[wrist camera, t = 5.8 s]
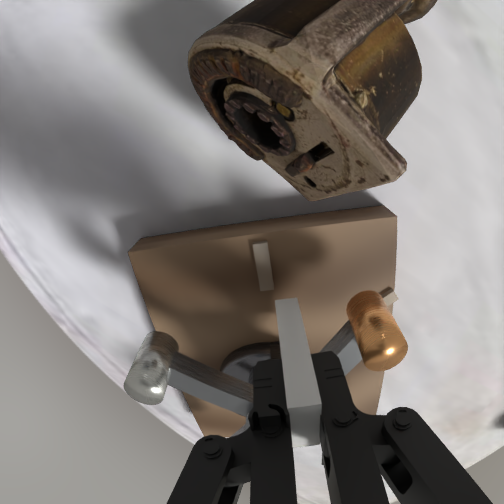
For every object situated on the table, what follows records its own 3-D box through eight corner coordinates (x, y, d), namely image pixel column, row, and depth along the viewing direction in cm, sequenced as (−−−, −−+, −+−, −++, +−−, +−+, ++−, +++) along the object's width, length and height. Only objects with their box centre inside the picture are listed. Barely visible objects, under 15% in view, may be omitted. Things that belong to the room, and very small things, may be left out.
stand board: (140, 238, 18) (125, 254, 16) (387, 205, 16) (402, 218, 14) (207, 419, 24) (204, 440, 22) (371, 402, 23) (377, 422, 21)
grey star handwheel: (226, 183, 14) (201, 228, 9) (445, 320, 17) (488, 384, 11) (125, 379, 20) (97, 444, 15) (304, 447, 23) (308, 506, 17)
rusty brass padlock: (193, 131, 15) (95, 155, 6) (299, -55, 10) (325, -170, 1) (317, 191, 16) (381, 288, 7) (414, 6, 11) (526, -52, 2)
